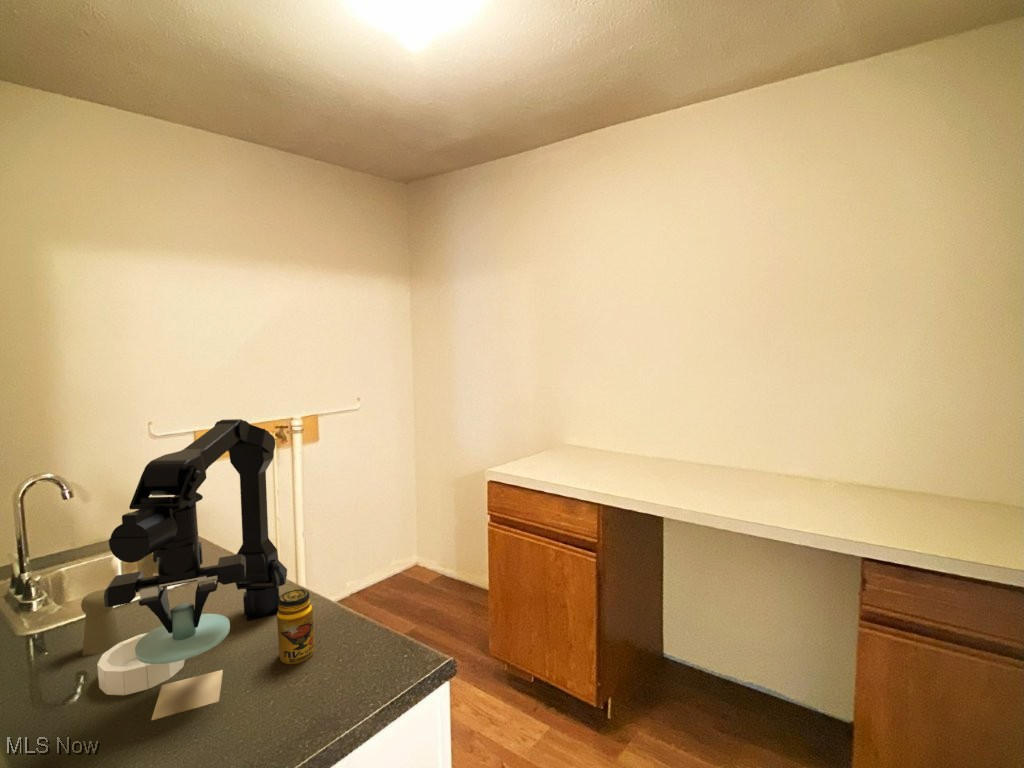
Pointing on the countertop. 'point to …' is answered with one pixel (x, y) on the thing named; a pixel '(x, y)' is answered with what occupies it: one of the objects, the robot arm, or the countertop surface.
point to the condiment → (295, 626)
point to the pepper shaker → (99, 625)
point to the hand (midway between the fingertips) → (184, 629)
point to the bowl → (131, 670)
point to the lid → (182, 637)
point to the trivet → (188, 694)
